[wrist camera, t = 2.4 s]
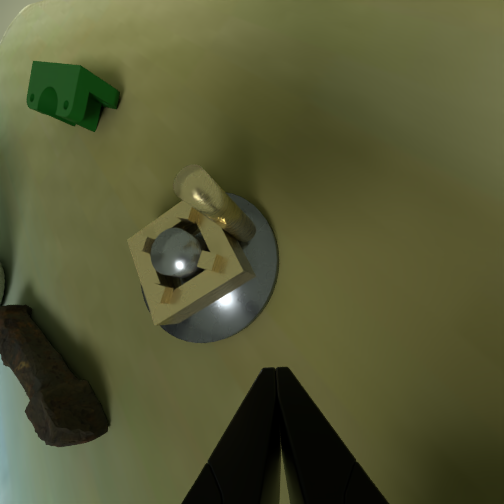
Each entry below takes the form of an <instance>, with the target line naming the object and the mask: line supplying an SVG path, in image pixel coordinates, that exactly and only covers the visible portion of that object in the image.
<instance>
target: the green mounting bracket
mask: <svg viewBox="0 0 504 504" xmlns="http://www.w3.org/2000/svg"><path fill="white" fill-rule="evenodd" d="M119 96H120V92H119V91H118V90H117V89H115V88H114V87H112V86H111V85H109V84H108V83H106V82H105V81H103V80H102V79H100V78H99V77H97V76H96V75H94V74H93V73H91V72H90V71H88V70H87V69H85V68H84V67H82V66H81V65H71V64H61V63H50V62H40V61H33V64H32V70H31V76H30V82H29V88H28V94H27V105H28V107H29V108H31V109H33V110H35V111H38V112H40V113H42V114H46V115H49V116H51V117H54V118H56V119H58V120H60V121H63V122H65V123H67V124H70V125H72V126H75V125H76V124H77V125H79V126H82V127H84V128H86V129H88V130H91V131H93V132H95V131H96V128H97V123H98V119H99V114H100V110H101V106H103V107H108V108H113V109H117V105H118V100H119Z"/></svg>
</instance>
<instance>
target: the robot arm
mask: <svg viewBox="0 0 504 504" xmlns="http://www.w3.org/2000/svg"><path fill="white" fill-rule="evenodd" d="M280 438H281V440H280ZM281 449H282V457H283V463H284V469H285V475H286V481H287V487H288V493H289V498H290V504H389V503H388V501H387V500H386V499H385V497H384V496H383V495H382V493H381V492H380V491H379V490H378V488H377V487H376V486H375V484H374V483H373V482H372V480H371V479H370V478H369V476H368V475H367V474H366V472H365V471H364V470H363V468H362V467H361V465H360V464H359V463H358V462H356V459H355V457H354V456H353V455H352V453H351V452H350V451H349V449H348V448H347V447H346V445H345V444H344V442H343V441H342V440H341V438H340V437H339V436H338V434H337V433H336V432H335V430H334V429H333V427H332V426H331V425H330V423H329V422H328V421H327V419H326V418H325V416H324V415H323V414H322V412H321V411H320V410H319V408H318V407H317V406H316V404H315V403H314V401H313V400H312V399H311V397H310V396H309V395H308V393H307V392H306V391H305V389H304V388H303V386H302V385H301V384H300V382H299V381H298V380H297V378H296V377H295V375H294V374H293V373H292V371H291V370H290V369H289V368H288V367H277V368H276V370H275V368H274V367H269V368H263V369H262V370H261V371H260V373H259V375H258V377H257V378H256V380H255V382H254V383H253V385H252V387H251V388H250V390H249V392H248V393H247V395H246V397H245V399H244V400H243V402H242V404H241V405H240V407H239V409H238V410H237V412H236V414H235V415H234V417H233V419H232V420H231V422H230V424H229V426H228V427H227V429H226V431H225V432H224V434H223V436H222V437H221V439H220V441H219V442H218V444H217V446H216V448H215V449H214V451H213V453H212V454H211V456H210V458H209V459H208V463H206V464H205V466H204V468H203V469H202V471H201V473H200V474H199V476H198V478H197V479H196V481H195V483H194V484H193V486H192V487H191V489H190V491H189V492H188V494H187V495H186V497H185V499H184V500H183V502H182V503H181V504H279V498H280V471H281Z"/></svg>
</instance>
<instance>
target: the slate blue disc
mask: <svg viewBox="0 0 504 504" xmlns="http://www.w3.org/2000/svg"><path fill="white" fill-rule="evenodd" d="M225 193H226V194H227V195H228V196H229V197H230V198H231V199H232V200H233V201H234V202H235V203H236V204H237V205H238V207H239V208H240V209H241V210H242V211H243V212H244V213H245V214H246V215H247V216H248V217H249V218H250V219H251V221H252V222H253V223H254V224H255V226H256V233H255V236H254V237H253V238H252V239H251V240H249V241H247V242H241V241H239V240H237V241H238V242H239V244H240V246H241V248H242V250H243V252H244V254H245V256H246V257H247V259H248V261H249V263H250V265H251V267H252V269H253V271H254V272H255V274H256V277H255V278H253V279H251V280H250V281H248V282H246V283H245V284H243V285H242V286H240V287H238V288H237V289H235V290H233V291H232V292H230V293H228V294H227V295H225V296H223V297H222V298H220V299H218V300H217V301H215V302H214V303H212V304H210V305H209V306H207V307H205V308H204V309H202V310H200V311H199V312H197V313H195V314H194V315H192V316H191V317H189V318H187V319H186V320H184V321H182V322H181V323H178V324H168V325H160V326H161V327H162V328H163V329H164V330H165V331H167V332H168V333H169V334H171V335H173V336H175V337H176V338H179V339H182V340H184V341H188V342H194V343H207V342H214V341H218V340H221V339H225V338H228V337H231V336H233V335H235V334H237V333H239V332H240V331H242V330H243V329H245V328H246V327H248V326H249V325H250V324H251V323H252V322H253V321H254V320H255V319H256V318H257V317H258V316H259V315H260V314H261V312H262V311H263V310H264V308H265V307H266V305H267V304H268V302H269V300H270V298H271V296H272V294H273V291H274V288H275V285H276V282H277V277H278V271H279V251H278V246H277V241H276V238H275V235H274V233H273V231H272V229H271V227H270V225H269V223H268V222H267V220H266V219H265V217H264V216H263V215H262V213H261V212H260V211H259V210H258V209H257V208H256V207H255V206H254V205H253V204H251V203H250V202H249V201H247V200H245V199H244V198H242V197H240V196H237V195H234V194H231V193H227V192H225ZM202 250H203V251H207V252H210V250H209V248H208V246H207V244H206V242H205V240H204V238H203V236H202V233H201V232H200V233H198V234H197V235H195V236H194V235H192V234H190V233H188V232H186V231H184V230H182V229H180V228H169V229H167V230H165V231H163V232H162V233H160V234H159V235H158V237H157V238H156V239H155V241H154V243H153V245H152V248H151V262H152V265H153V267H154V268H155V270H156V271H157V272H159V273H161V274H164V275H168V276H173V277H179V278H180V281H181V283H182V285H183V284H185V283H186V282H188V281H189V280H191V279H192V278H194V277H195V276H197V275H199V274H200V273H202V272H203V271H205V270H206V269H203V268H199V267H197V264H198V261H199V258H200V255H201V252H202ZM141 288H142V285H141ZM142 293H143V297H144V301H145V303H146V306H147V308H148V310H149V312H150V309H149V306H148V303H147V300H146V297H145V294H144V291H143V288H142ZM150 314H151V313H150Z"/></svg>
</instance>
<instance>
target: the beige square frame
mask: <svg viewBox="0 0 504 504" xmlns="http://www.w3.org/2000/svg"><path fill="white" fill-rule="evenodd" d="M173 189H174V192H175V194H176V195H177V196H178V197H179V198H181V199H182V201H181V202H179V203H178V204H177V205H175V206H174V207H172V208H171V209H170V210H168V211H167V212H165V213H164V214H163V215H161V216H160V217H158V218H157V219H156V220H154V221H153V222H151V223H150V224H149V225H147V226H146V227H144V228H143V229H142V230H140V231H139V232H137V233H136V234H135V235H133V236H132V237H130V238H129V239H128V240H127V241H128V244H129V248H130V251H131V254H132V257H133V260H134V263H135V266H136V269H137V272H138V275H139V278H140V282H141V285H142V288H143V291H144V294H145V297H146V300H147V303H148V306H149V309H150V313H151V316H152V319H153V322H154V325H155V326H158V325H168V324H178V323H181V322H182V321H184V320H186V319H187V318H189V317H191V316H192V315H194V314H195V313H197V312H199V311H200V310H202V309H204V308H205V307H207V306H209V305H210V304H212V303H214V302H215V301H217V300H218V299H220V298H222V297H223V296H225V295H227V294H228V293H230V292H232V291H233V290H235V289H237V288H238V287H240V286H242V285H243V284H245V283H246V282H248V281H250V280H251V279H253V278H255V277H256V274H255V272H254V271H253V269H252V267H251V265H250V263H249V261H248V259H247V257H246V256H245V254H244V252H243V250H242V248H241V246H240V244H239V242H238V241H237V240H239V241H241V242H247V241H249V240H251V239H252V238H253V237H254V236H255V233H256V226H255V224H254V223H253V222H252V221H251V219H250V218H249V217H248V216H247V215H246V214H245V213H244V212H243V211H242V210H241V209H240V208H239V207H238V205H237V204H236V203H235V202H234V201H233V200H232V199H231V198H230V197H229V196H228V195H227V194H226V193H225V191H224V190H223V189H222V188H221V187H220V186H219V185H218V184H217V183H216V182H215V181H214V180H213V179H212V177H211V176H210V175H209V174H208V173H207V172H206V171H205V170H204V169H203V168H202V167H201V166H199V165H196V164H192V165H188V166H186V167H184V168H183V169H181V170H180V171H179V172H178V174H177V175H176V177H175V179H174V183H173ZM169 228H180V229H182V230H184V231H186V232H188V233H190V234H192V235H194V236H195V235H197V234H198V233H200V232H201V233H202V236H203V238H204V240H205V242H206V244H207V246H208V248H209V250H210V252H207V251H203V250H202V252H201V255H200V258H199V261H198V264H197V267H199V268H203V269H206V270H205V271H203V272H202V273H200V274H199V275H197V276H195V277H194V278H192V279H191V280H189V281H188V282H186V283H185V284H183V285H182V283H181V281H180V278H179V277H173V276H168V275H164V274H161V273H159V272H157V271H156V270H155V268H154V267H153V265H152V262H151V248H152V245H153V243H154V241H155V239H156V238H157V237H158V235H159V234H160V233H162V232H163V231H165V230H167V229H169Z"/></svg>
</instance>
